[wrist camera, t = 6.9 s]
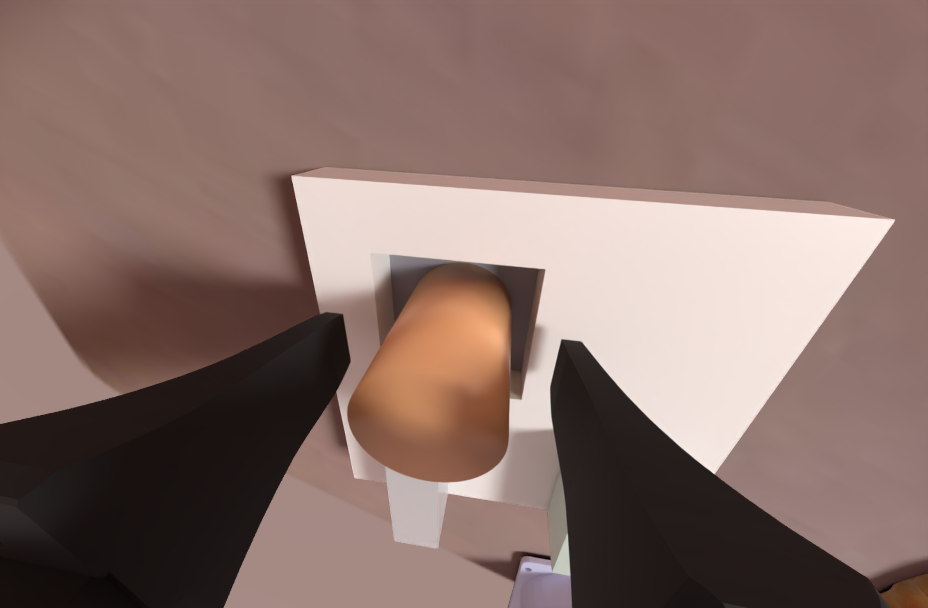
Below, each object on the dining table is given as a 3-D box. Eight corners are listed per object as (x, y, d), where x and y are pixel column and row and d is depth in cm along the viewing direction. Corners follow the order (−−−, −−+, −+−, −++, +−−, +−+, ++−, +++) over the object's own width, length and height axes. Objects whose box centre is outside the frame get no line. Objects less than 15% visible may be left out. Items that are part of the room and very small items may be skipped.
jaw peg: (505, 354, 14) (498, 493, 9) (413, 341, 14) (356, 468, 9) (518, 268, 12) (520, 383, 7) (412, 256, 12) (336, 357, 7)
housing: (658, 489, 17) (699, 597, 13) (369, 445, 19) (331, 529, 15) (829, 202, 10) (1032, 256, 6) (325, 166, 11) (226, 192, 8)
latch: (609, 522, 16) (624, 585, 14) (547, 511, 16) (551, 572, 14) (650, 441, 13) (677, 507, 11) (572, 430, 13) (583, 492, 11)
